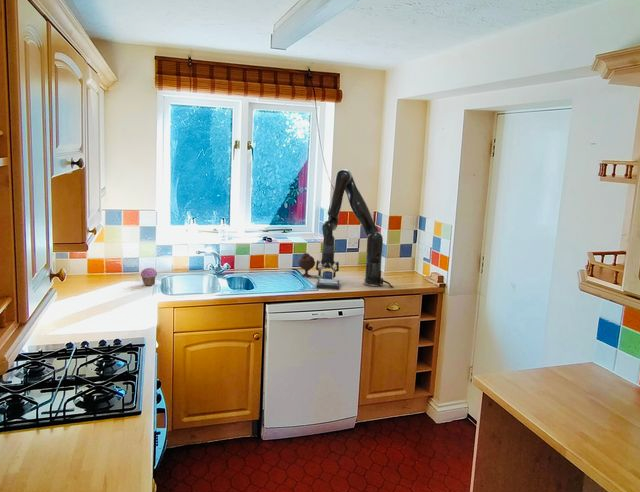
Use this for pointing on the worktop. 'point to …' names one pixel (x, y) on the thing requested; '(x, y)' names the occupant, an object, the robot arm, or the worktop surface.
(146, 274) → the cupcake
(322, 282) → the scale
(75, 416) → the worktop surface
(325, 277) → the dip bowl
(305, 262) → the miniature tree
